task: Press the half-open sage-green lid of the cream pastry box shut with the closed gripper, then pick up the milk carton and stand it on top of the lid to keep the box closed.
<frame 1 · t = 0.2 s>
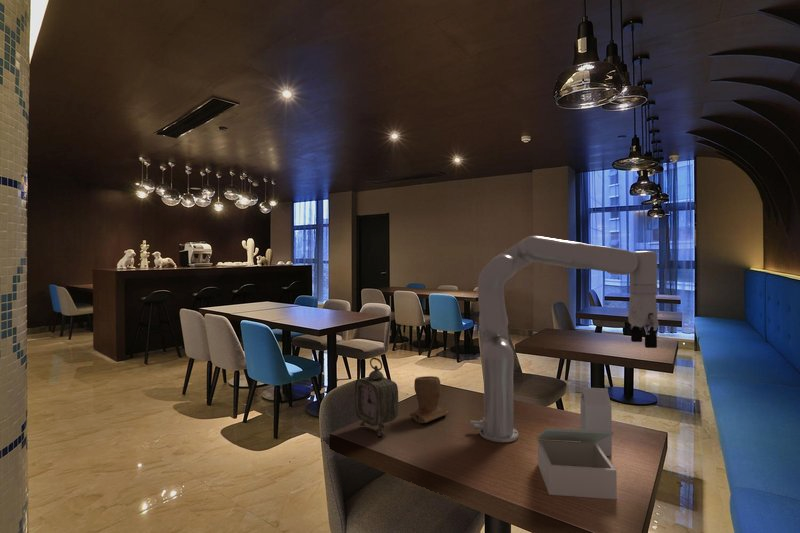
hand: (643, 344, 131), 31 cm above the table, tool pointing down, fingers open, 9 cm apart
box lid: (572, 435, 110), point 11 cm above the table, hinge at 30.0°
pastry: (572, 482, 108), on the table
brown upright piece: (427, 418, 155), on the table
tabletop clock: (377, 430, 143), on the table
pastry box: (574, 480, 109), on the table
milk carton: (595, 451, 126), on the table
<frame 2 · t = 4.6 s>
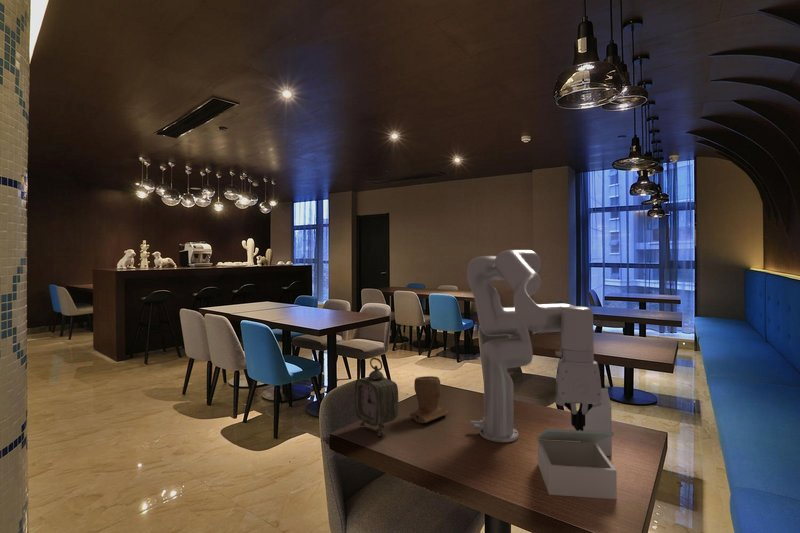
hand: (578, 428, 105), 15 cm above the table, tool pointing down, fingers closed
box lid: (572, 435, 110), point 11 cm above the table, hinge at 29.5°, touching gripper
pastry: (568, 482, 109), on the table
everything else where it was.
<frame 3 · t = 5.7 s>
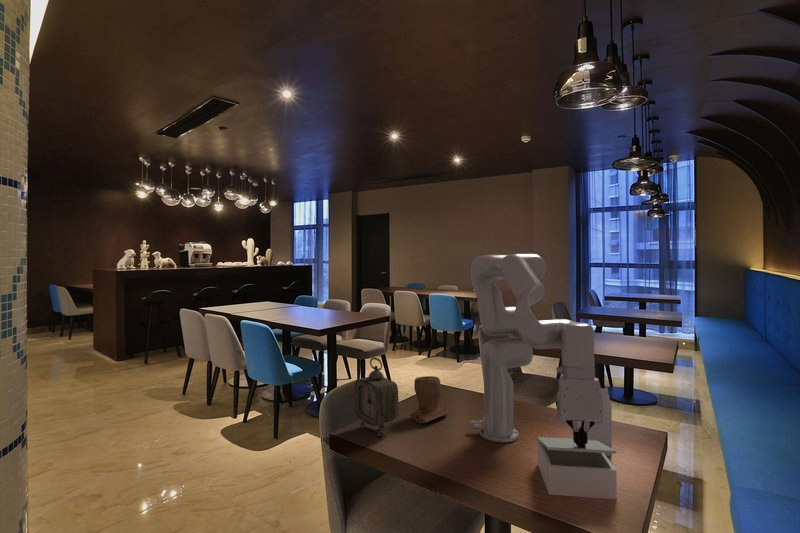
hand: (580, 446, 104), 11 cm above the table, tool pointing down, fingers closed
box lid: (573, 444, 109), point 9 cm above the table, hinge at 13.9°, touching gripper
everything else where it was.
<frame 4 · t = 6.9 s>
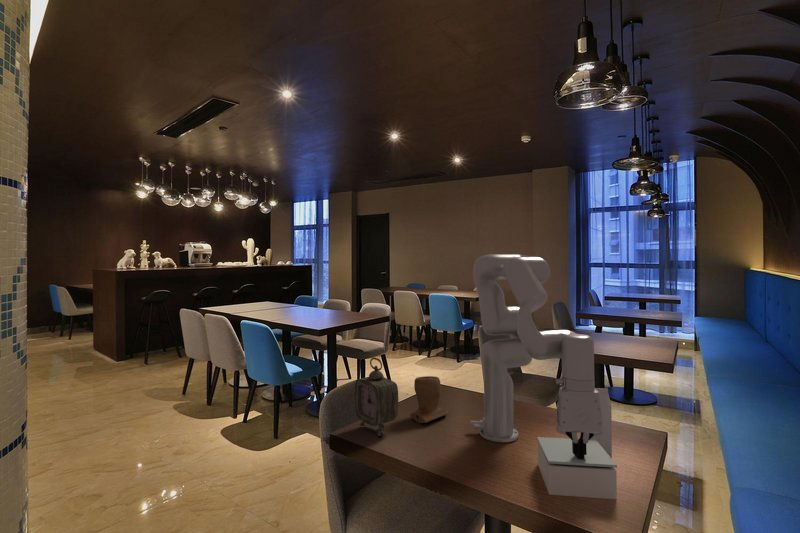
hand: (579, 457, 104), 8 cm above the table, tool pointing down, fingers closed
box lid: (573, 451, 109), point 8 cm above the table, hinge at 2.2°, touching gripper
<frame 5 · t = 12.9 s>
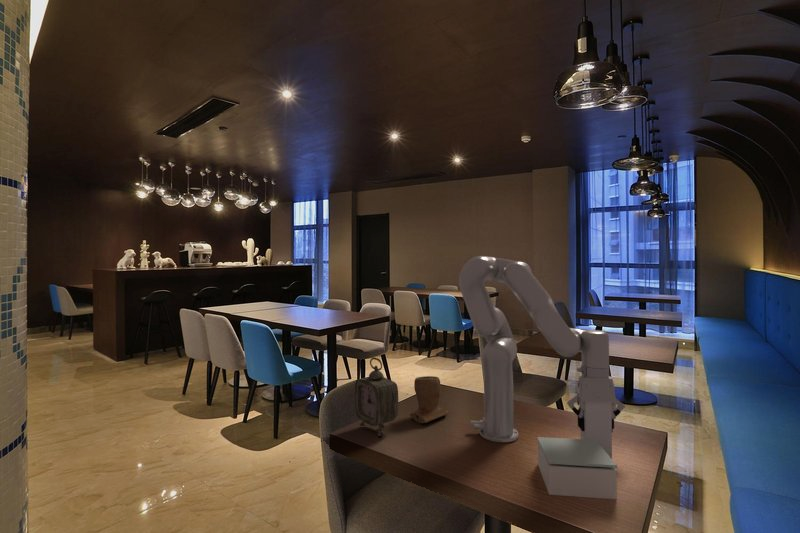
hand: (595, 429, 126), 6 cm above the table, tool pointing down, fingers closed on milk carton, 7 cm apart
box lid: (573, 451, 109), point 8 cm above the table, hinge at 2.0°
pastry: (561, 481, 109), on the table
milk carton: (595, 451, 126), on the table, touching gripper
everything else where it was.
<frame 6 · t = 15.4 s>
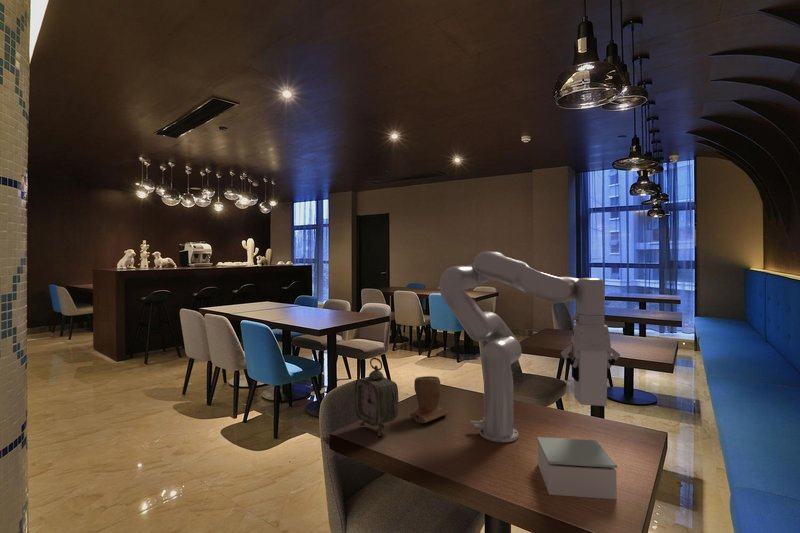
hand: (590, 380, 122), 23 cm above the table, tool pointing down, fingers closed on milk carton, 7 cm apart
milk carton: (590, 402, 122), point 16 cm above the table, touching gripper
everything else where it was.
when the fingers open (16 cm above the table, at t = 18.1 s): milk carton drops 2 cm, resting on box lid.
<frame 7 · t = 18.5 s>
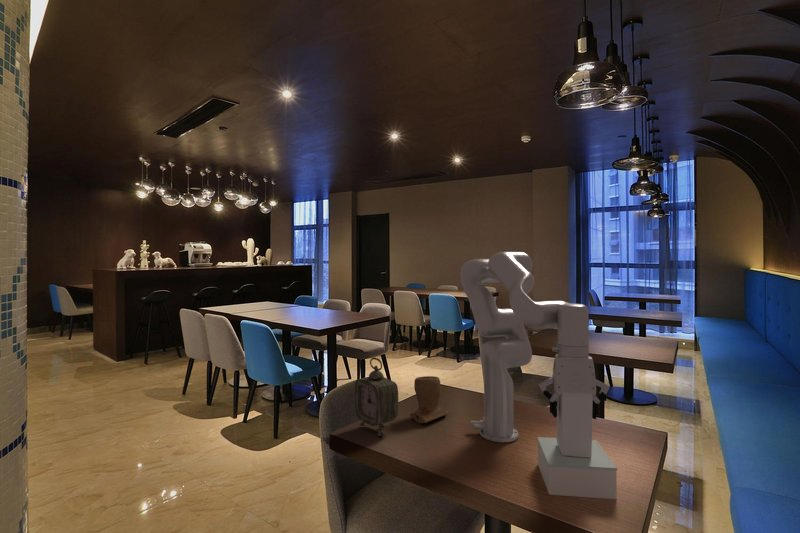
hand: (573, 416, 109), 17 cm above the table, tool pointing down, fingers open, 9 cm apart
box lid: (573, 452, 109), point 7 cm above the table, hinge at -0.4°, touching milk carton, pastry box
milk carton: (573, 451, 109), point 8 cm above the table, touching box lid
everything else where it was.
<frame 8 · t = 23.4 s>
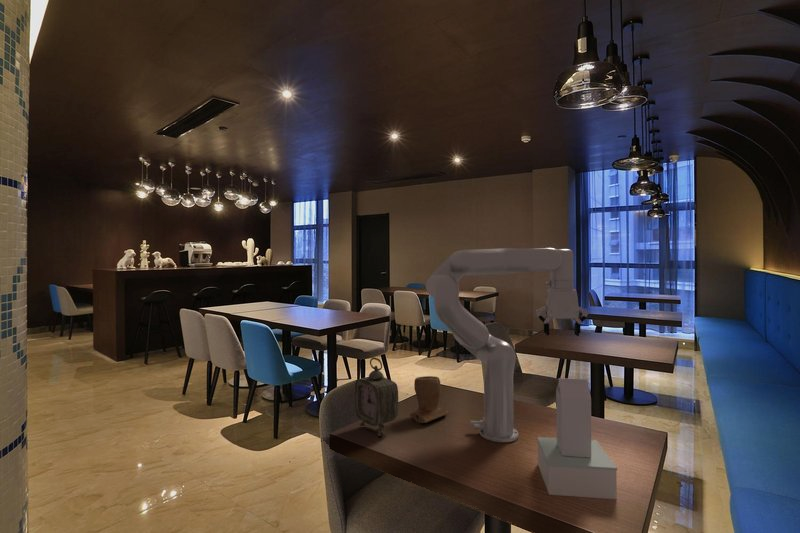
hand: (561, 335, 142), 32 cm above the table, tool pointing down, fingers open, 9 cm apart
box lid: (573, 452, 109), point 7 cm above the table, hinge at -0.3°, touching milk carton
everything else where it was.
at the end: box lid at +0° (first picture: +30°); milk carton inside the target area on the pastry box (0.1 cm from its centre), point 7.5 cm above the pastry box's base; milk carton tilted 0° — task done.
